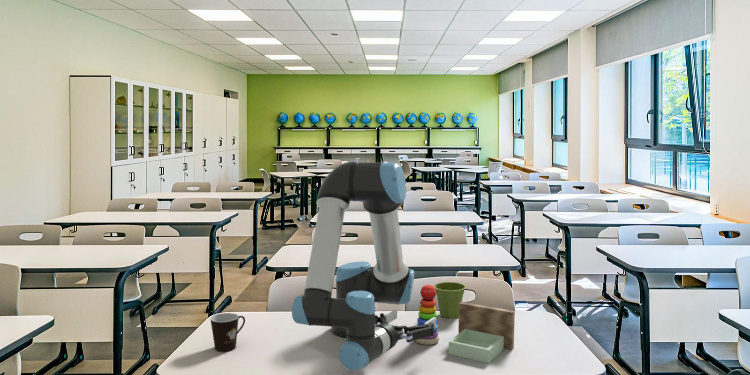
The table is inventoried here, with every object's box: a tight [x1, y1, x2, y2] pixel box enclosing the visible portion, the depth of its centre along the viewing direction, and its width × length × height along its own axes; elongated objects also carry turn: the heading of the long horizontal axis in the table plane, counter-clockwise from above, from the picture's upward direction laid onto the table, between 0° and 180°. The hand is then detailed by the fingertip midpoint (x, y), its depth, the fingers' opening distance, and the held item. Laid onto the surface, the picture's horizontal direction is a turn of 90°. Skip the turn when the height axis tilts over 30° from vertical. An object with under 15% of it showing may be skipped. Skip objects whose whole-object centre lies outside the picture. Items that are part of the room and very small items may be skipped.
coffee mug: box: [210, 312, 246, 353], centre depth 180 cm, size 12×9×10 cm
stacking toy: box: [414, 284, 440, 346], centre depth 184 cm, size 8×8×19 cm
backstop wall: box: [457, 301, 516, 350], centre depth 183 cm, size 18×2×12 cm, turn 59°
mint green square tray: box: [448, 329, 505, 364], centre depth 177 cm, size 13×13×4 cm
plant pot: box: [433, 281, 467, 319], centre depth 210 cm, size 12×12×11 cm
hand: (415, 317), depth 177 cm, fingers open, 13 cm apart
